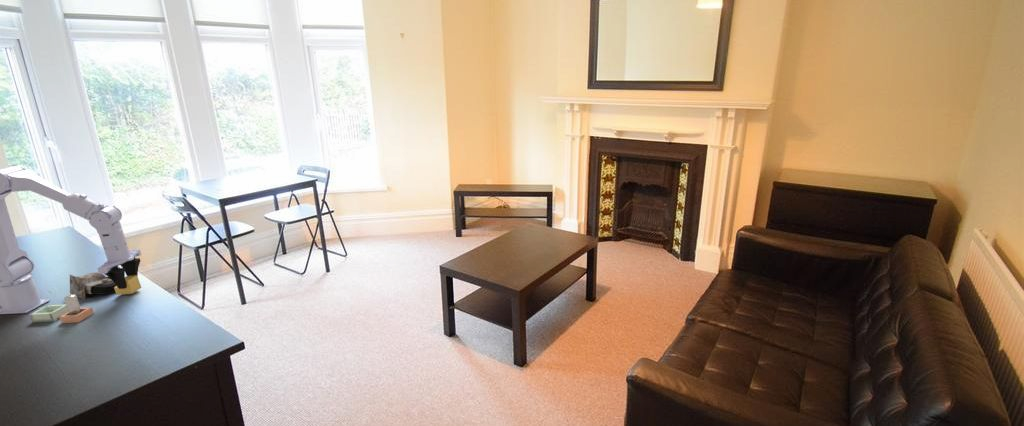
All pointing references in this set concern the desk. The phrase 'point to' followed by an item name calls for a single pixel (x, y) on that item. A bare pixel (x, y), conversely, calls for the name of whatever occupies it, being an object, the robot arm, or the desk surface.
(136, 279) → the chock
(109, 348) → the desk surface
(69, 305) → the stop pin
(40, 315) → the tray
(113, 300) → the desk surface
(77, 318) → the socket block
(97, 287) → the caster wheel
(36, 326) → the desk surface
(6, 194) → the robot arm
